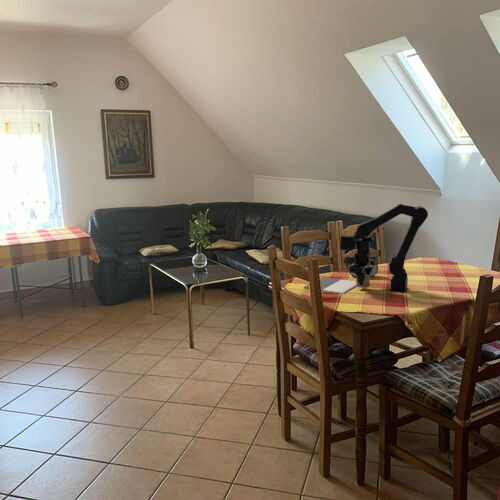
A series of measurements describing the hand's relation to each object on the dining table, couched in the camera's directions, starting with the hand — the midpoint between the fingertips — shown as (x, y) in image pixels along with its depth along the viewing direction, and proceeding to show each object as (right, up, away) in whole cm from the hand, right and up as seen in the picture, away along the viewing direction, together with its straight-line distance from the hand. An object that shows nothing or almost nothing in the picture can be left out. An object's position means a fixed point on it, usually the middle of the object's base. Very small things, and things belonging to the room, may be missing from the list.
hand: (362, 284), depth 230 cm
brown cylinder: (0, -1, 0) cm, 1 cm away
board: (-13, -1, +8) cm, 15 cm away
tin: (+5, +2, +23) cm, 24 cm away
